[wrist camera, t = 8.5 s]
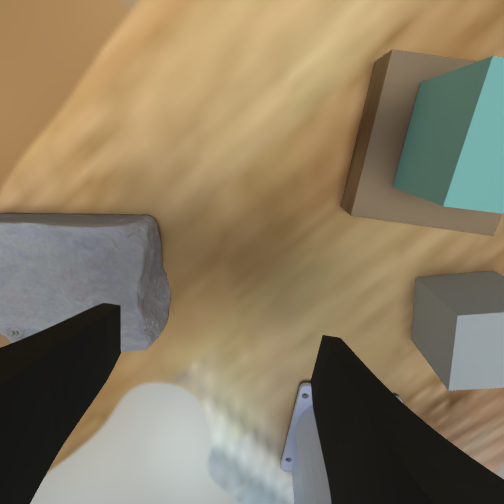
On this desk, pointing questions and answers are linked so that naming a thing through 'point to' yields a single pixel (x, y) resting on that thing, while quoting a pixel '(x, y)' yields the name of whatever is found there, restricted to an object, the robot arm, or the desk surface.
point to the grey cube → (461, 328)
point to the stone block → (82, 273)
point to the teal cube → (457, 139)
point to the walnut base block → (400, 149)
